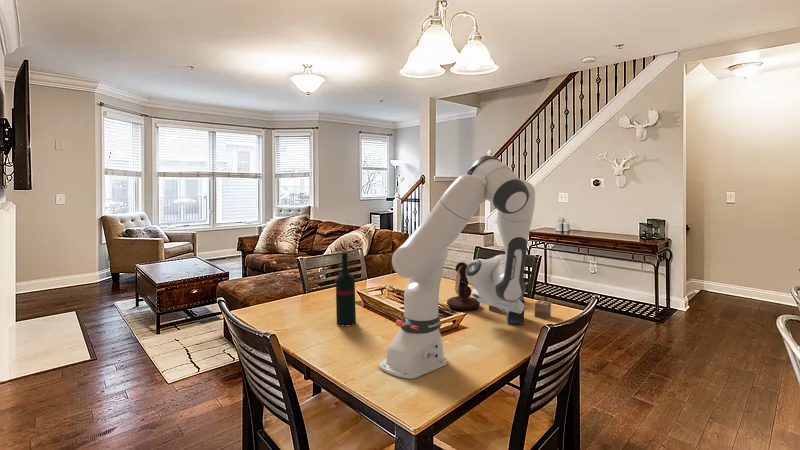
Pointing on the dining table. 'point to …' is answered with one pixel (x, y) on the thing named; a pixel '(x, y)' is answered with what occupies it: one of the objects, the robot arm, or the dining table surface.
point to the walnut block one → (543, 309)
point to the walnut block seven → (494, 309)
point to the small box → (516, 316)
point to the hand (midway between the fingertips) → (506, 311)
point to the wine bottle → (345, 295)
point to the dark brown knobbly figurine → (462, 291)
